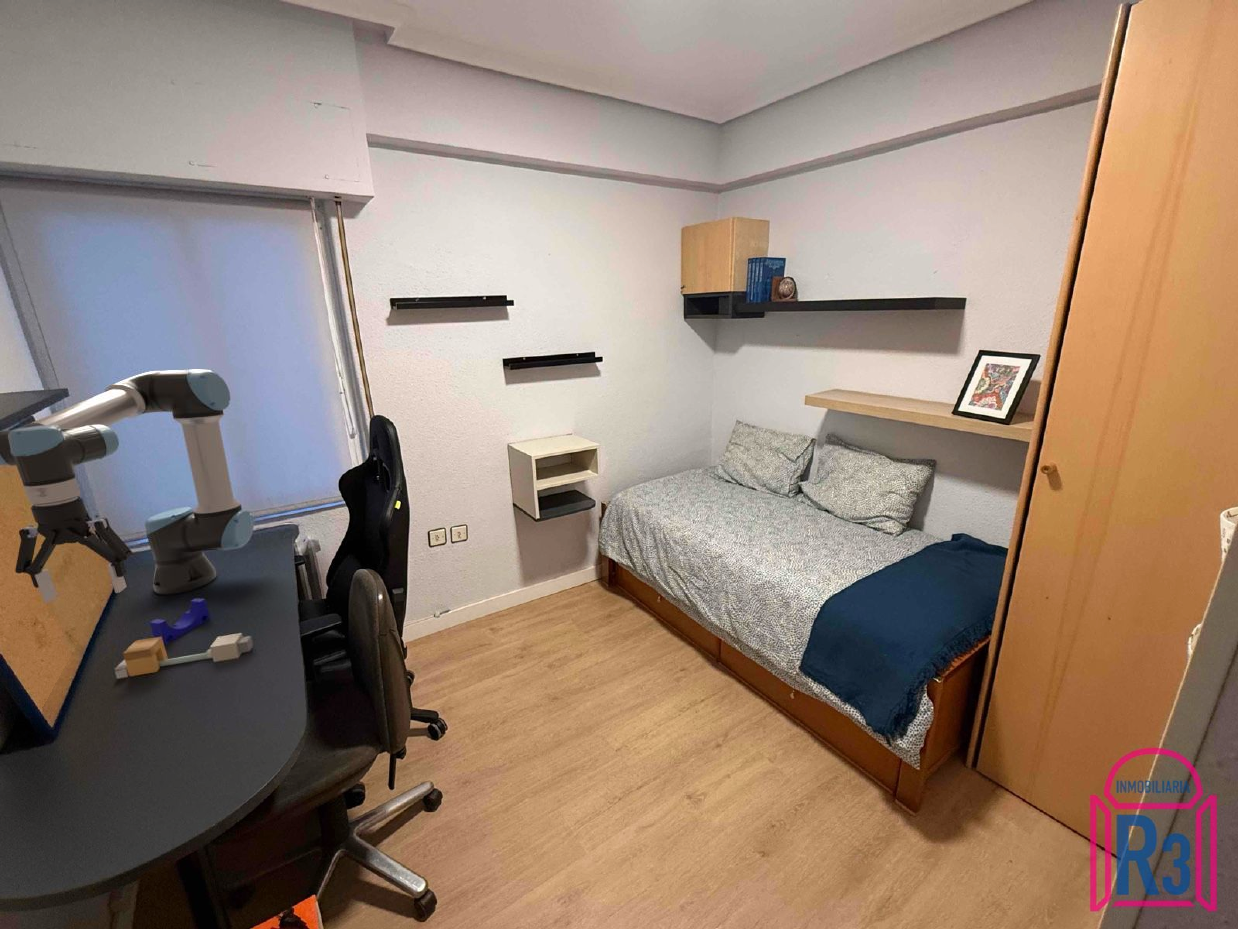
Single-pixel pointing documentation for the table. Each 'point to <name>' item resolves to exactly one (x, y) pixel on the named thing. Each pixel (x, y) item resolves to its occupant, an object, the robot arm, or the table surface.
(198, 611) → the cable clip
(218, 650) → the cord run
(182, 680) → the table surface
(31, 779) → the table surface
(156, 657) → the sleeve
